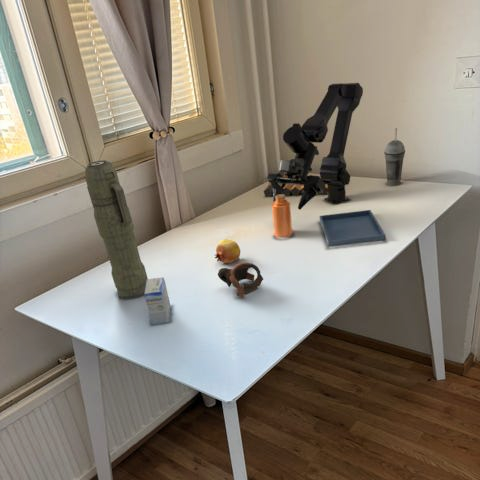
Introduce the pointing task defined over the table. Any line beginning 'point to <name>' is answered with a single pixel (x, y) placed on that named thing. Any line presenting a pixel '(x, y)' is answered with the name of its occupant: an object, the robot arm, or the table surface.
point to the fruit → (227, 251)
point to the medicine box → (157, 300)
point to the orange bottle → (282, 216)
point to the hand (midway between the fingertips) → (286, 207)
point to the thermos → (116, 228)
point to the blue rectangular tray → (351, 228)
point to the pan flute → (290, 188)
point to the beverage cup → (394, 161)
